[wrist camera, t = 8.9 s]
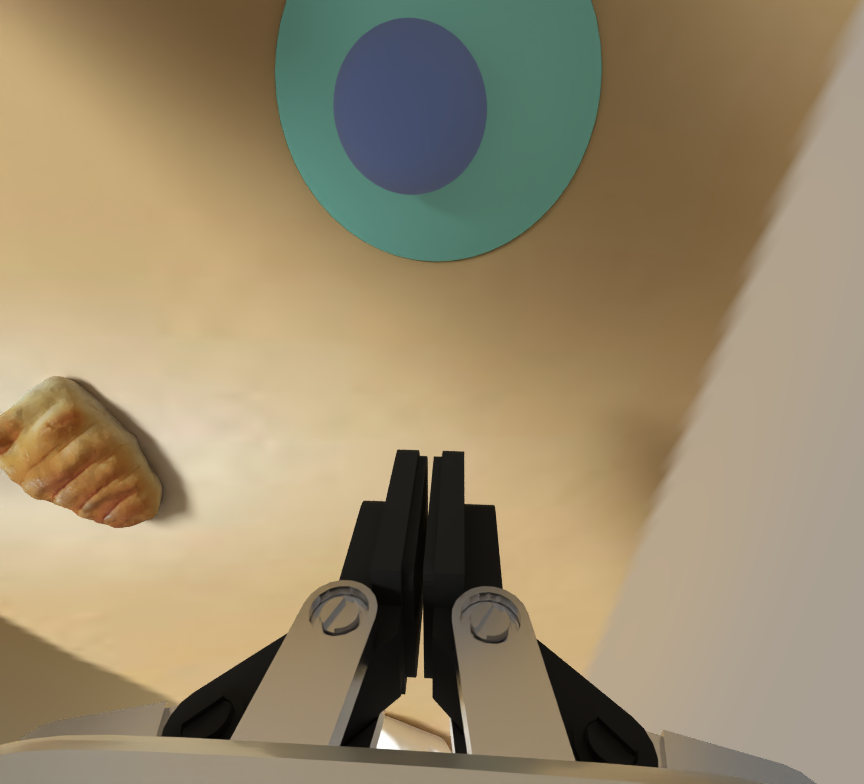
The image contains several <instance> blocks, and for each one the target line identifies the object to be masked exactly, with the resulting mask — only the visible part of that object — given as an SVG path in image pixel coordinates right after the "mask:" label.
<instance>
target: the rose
mask: <svg viewBox="0 0 864 784" xmlns="http://www.w3.org/2000/svg"><path fill="white" fill-rule="evenodd" d="M376 748H378V749H395V750H411V751H427V752H443V753H452V752H451V751H450V749H449V747H448V745H447V744H446V742H445V740H444V739H442V738H441V737H439V736H436V735H434V734H431V733H429V732H426V731H424V730H421V729H418V728H416V727H413V726H411V725H408V724H406V723H404V722H401V721H399V720H396V719H394V718H391V717H388V716H386V715H385V716H384V723H383V726H382V730H381V733H380V737H379V740H378V744H377V747H376Z"/></svg>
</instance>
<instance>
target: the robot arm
mask: <svg viewBox="0 0 864 784" xmlns="http://www.w3.org/2000/svg"><path fill="white" fill-rule="evenodd" d="M422 611H423V625H424V678H433V699H434V700H435V701H436V702H437V703H438V704H439V706H440V707H441V708H442V709H443V710H444V711H445V712H446V713H447V714H448V716H449V717H450V735H451V743H452V752H453V753H443V752H427V751H411V750H395V749H378V748H376V747H377V744H378V740H379V737H380V733H381V730H382V726H383V723H384V716H385V709H386V708H387V707H388V706H390V705H391V704H392V703H393V702H394V701H396V700H397V699H398V698H399V697H400V696H401V694H405V691H406V682H407V677H415V678H416V676H417V667H418V656H419V644H420V633H421V622H422ZM0 784H816V783H815V782H813V781H812V780H811V779H809V778H808V777H807V776H805V775H804V774H803V773H802V772H800V771H797V770H795V769H793V768H790V767H788V766H786V765H784V764H781V763H777V762H774V761H770V760H767V759H763V758H760V757H756V756H753V755H749V754H746V753H743V752H739V751H736V750H732V749H729V748H725V747H722V746H718V745H715V744H711V743H708V742H704V741H700V740H697V739H694V738H690V737H687V736H683V735H680V734H676V733H673V732H669V731H666V730H663V732H662V735H661V736H660V735H657V734H653V733H649V732H646V731H645V730H644V728H643V727H642V726H641V725H640V724H639V723H638V722H637V721H636V720H635V719H634V718H633V717H632V716H631V715H629V714H628V713H627V712H625V711H624V710H623V709H622V708H621V707H620V706H618V705H617V704H616V703H614V702H613V701H612V700H611V699H610V698H608V697H607V696H606V695H605V694H604V693H602V692H601V691H600V690H599V689H598V688H596V687H595V686H594V685H593V684H591V683H590V682H589V681H588V680H586V679H585V678H584V677H583V676H582V675H580V674H579V673H578V672H577V671H575V670H574V669H573V668H572V667H571V666H569V665H568V664H567V663H566V662H564V661H563V660H562V659H561V658H559V657H558V656H557V655H556V654H555V653H553V652H552V651H551V650H550V649H548V648H547V647H546V646H545V645H544V644H542V643H541V642H540V641H539V640H537V639H536V636H535V633H534V630H533V627H532V624H531V621H530V618H529V615H528V612H527V610H526V608H525V606H524V604H523V603H522V602H521V601H520V600H519V599H518V598H517V597H516V596H515V595H513V594H511V593H510V592H508V591H506V590H504V589H503V588H502V577H501V566H500V555H499V544H498V534H497V523H496V512H495V506H494V505H474V504H464V452H460V451H443V453H442V457H434V461H433V471H432V482H431V492H430V502H429V513H428V459H427V456H420V453H419V450H397V453H396V457H395V462H394V466H393V471H392V475H391V479H390V484H389V488H388V493H387V497H386V501H363V502H362V505H361V508H360V511H359V515H358V518H357V521H356V525H355V528H354V532H353V535H352V539H351V542H350V545H349V549H348V552H347V556H346V559H345V563H344V566H343V569H342V573H341V576H340V580H339V581H335V582H330V583H328V584H326V585H324V586H321V587H319V588H318V589H317V590H316V591H314V592H313V593H312V594H310V596H309V597H308V598H307V600H306V601H305V602H304V604H303V606H302V608H301V610H300V611H299V613H298V615H297V617H296V619H295V621H294V622H293V624H292V626H291V628H290V630H289V632H288V633H287V634H286V635H284V636H282V637H281V638H279V639H278V640H276V641H274V642H273V643H271V644H270V645H268V646H267V647H265V648H263V649H262V650H260V651H259V652H257V653H255V654H254V655H252V656H251V657H249V658H248V659H246V660H244V661H243V662H241V663H240V664H238V665H236V666H235V667H233V668H232V669H230V670H229V671H227V672H225V673H224V674H222V675H221V676H219V677H218V678H216V679H214V680H213V681H211V682H210V683H208V684H206V685H205V686H203V687H202V688H200V689H199V690H197V691H195V692H194V693H193V694H191V695H190V696H189V697H187V698H186V699H185V700H184V701H182V702H181V703H180V704H179V706H173V707H168V704H167V702H160V703H154V704H148V705H143V706H137V707H131V708H125V709H120V710H114V711H109V712H103V713H97V714H91V715H85V716H80V717H74V718H69V719H62V720H57V721H53V722H50V723H47V724H44V725H42V726H39V727H37V728H36V729H34V730H33V731H31V732H29V733H27V734H26V735H24V736H23V737H21V738H20V739H19V740H18V741H17V742H12V743H7V744H2V745H0Z"/></svg>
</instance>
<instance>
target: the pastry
mask: <svg viewBox="0 0 864 784" xmlns="http://www.w3.org/2000/svg"><path fill="white" fill-rule="evenodd" d="M0 467H1V468H2V469H3V470H4V471H5V472H6V473H7V475H8V476H9V477H10V479H11V480H12V481H14V482H16V483H17V484H19V485H20V486H21V487H22V488H23V490H24V491H25V492H26V493H27V494H29V495H30V496H31V497H33V498H35V499H38V500H46V501H49V502H52V503H54V504H56V505H59V506H62V507H64V508H68V509H70V510H72V511H73V512H75V513H76V514H77V515H78V516H80V517H82V518H86V519H90V520H94V521H95V522H97V523H102V524H106V525H109V526H111V527H114V528H123V527H130V526H133V525H136V524H139V523H141V522H143V521H145V520H149V519H151V518H153V517H154V516H155V515H156V514H157V512H158V510H159V505H160V502H161V497H162V485H161V482H160V480H159V477H158V476H157V475H156V473H155V472H154V471H152V469H151V468H150V467H149V465H148V463H147V459H146V457H145V456H144V454H143V452H142V450H141V448H140V445H139V442H138V440H137V438H136V437H135V436H134V435H133V434H132V433H130V432H128V431H127V430H125V428H124V427H123V426H122V424H121V423H120V422H119V421H118V420H116V419H115V418H114V416H113V415H112V414H110V413H109V412H108V410H107V409H106V408H105V406H104V405H103V404H101V403H100V402H99V401H98V400H97V399H96V398H95V397H94V396H92V395H91V394H90V393H89V392H88V391H87V390H85V389H84V388H82V387H81V386H80V385H79V384H78V383H76V382H75V381H72V380H70V379H67V378H64V377H59V376H53V377H49V378H47V379H46V380H44V381H43V382H42V383H40V384H38V385H37V386H35V387H34V388H33V389H31V390H29V391H28V392H27V393H26V394H25V395H24V396H23V398H22V399H21V400H20V401H18V402H17V403H16V404H15V405H14V406H13V407H12V408H10V409H9V410H7V411H6V412H4V413H3V414H1V415H0Z"/></svg>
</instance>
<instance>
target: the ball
mask: <svg viewBox="0 0 864 784" xmlns="http://www.w3.org/2000/svg"><path fill="white" fill-rule="evenodd" d="M333 109H334V119H335V125H336V129H337V133H338V136H339V139H340V142H341V144H342V146H343V148H344V150H345V152H346V154H347V156H348V157H349V159H350V160H351V162H352V163H353V165H354V166H355V167H356V168H357V169H358V170H359V171H360V172H361V173H362V174H363V175H364V176H365V177H366V178H367V179H368V180H370V181H371V182H373V183H374V184H376V185H377V186H379V187H381V188H383V189H386V190H388V191H391V192H395V193H399V194H405V195H419V194H425V193H429V192H433V191H436V190H438V189H441V188H442V187H444V186H446V185H448V184H449V183H451V182H452V181H454V180H455V179H456V178H457V177H458V176H460V175H461V174H462V173H463V172H464V170H465V169H466V168H467V167H468V166H469V164H470V163H471V161H472V160H473V158H474V156H475V155H476V153H477V151H478V149H479V147H480V144H481V141H482V138H483V135H484V131H485V126H486V119H487V98H486V90H485V86H484V82H483V78H482V75H481V72H480V70H479V68H478V65H477V63H476V61H475V59H474V58H473V56H472V54H471V53H470V52H469V50H468V49H467V47H466V46H465V45H464V44H463V43H462V42H461V41H460V40H459V39H458V38H457V37H456V36H455V35H454V34H453V33H451V32H450V31H448V30H447V29H445V28H444V27H442V26H440V25H438V24H436V23H433V22H431V21H428V20H423V19H418V18H398V19H393V20H390V21H387V22H384V23H381V24H379V25H377V26H375V27H374V28H372V29H371V30H369V31H368V32H367V33H365V34H364V35H363V36H362V37H360V38H359V39H358V40H357V42H356V43H355V44H354V45H353V46H352V48H351V49H350V50H349V52H348V54H347V55H346V57H345V59H344V61H343V63H342V65H341V67H340V70H339V73H338V76H337V79H336V84H335V90H334V99H333Z"/></svg>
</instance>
